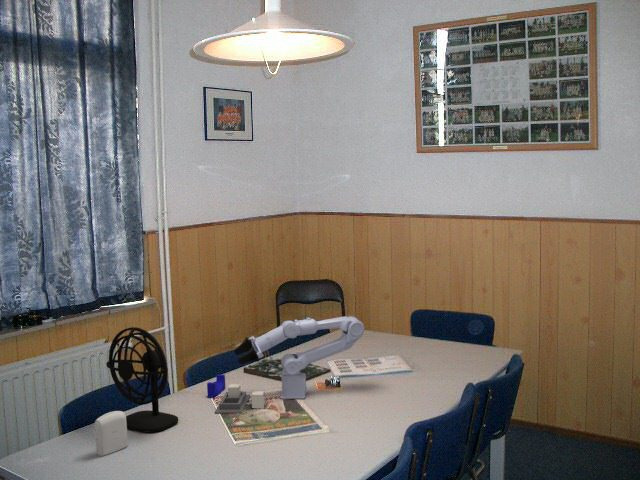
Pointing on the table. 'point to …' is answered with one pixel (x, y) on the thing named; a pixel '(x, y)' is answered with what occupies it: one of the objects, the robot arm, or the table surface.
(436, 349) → the table surface
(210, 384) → the cable clip
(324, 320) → the robot arm
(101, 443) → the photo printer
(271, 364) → the topographical map
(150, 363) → the desk fan
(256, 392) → the light gray rectangular block
